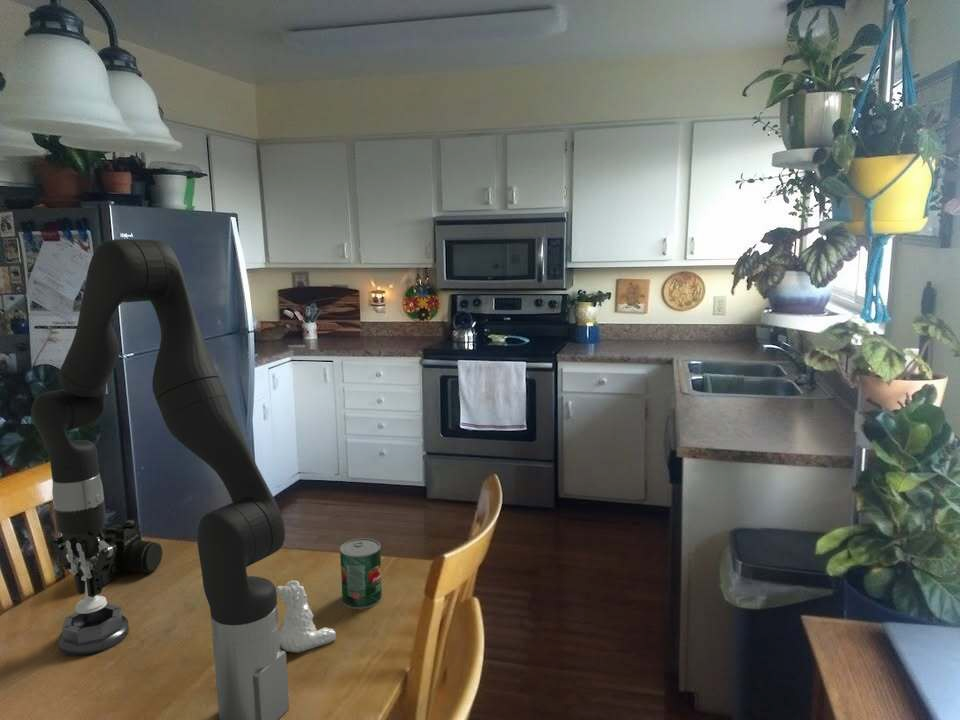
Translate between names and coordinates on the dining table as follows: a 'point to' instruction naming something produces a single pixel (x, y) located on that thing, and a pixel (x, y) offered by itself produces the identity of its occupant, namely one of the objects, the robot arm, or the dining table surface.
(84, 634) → the ashtray
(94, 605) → the chess piece
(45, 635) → the dining table surface
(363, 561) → the canned tomato
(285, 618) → the sitting furry creature
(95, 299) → the robot arm
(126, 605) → the dining table surface
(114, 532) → the camera
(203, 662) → the dining table surface
